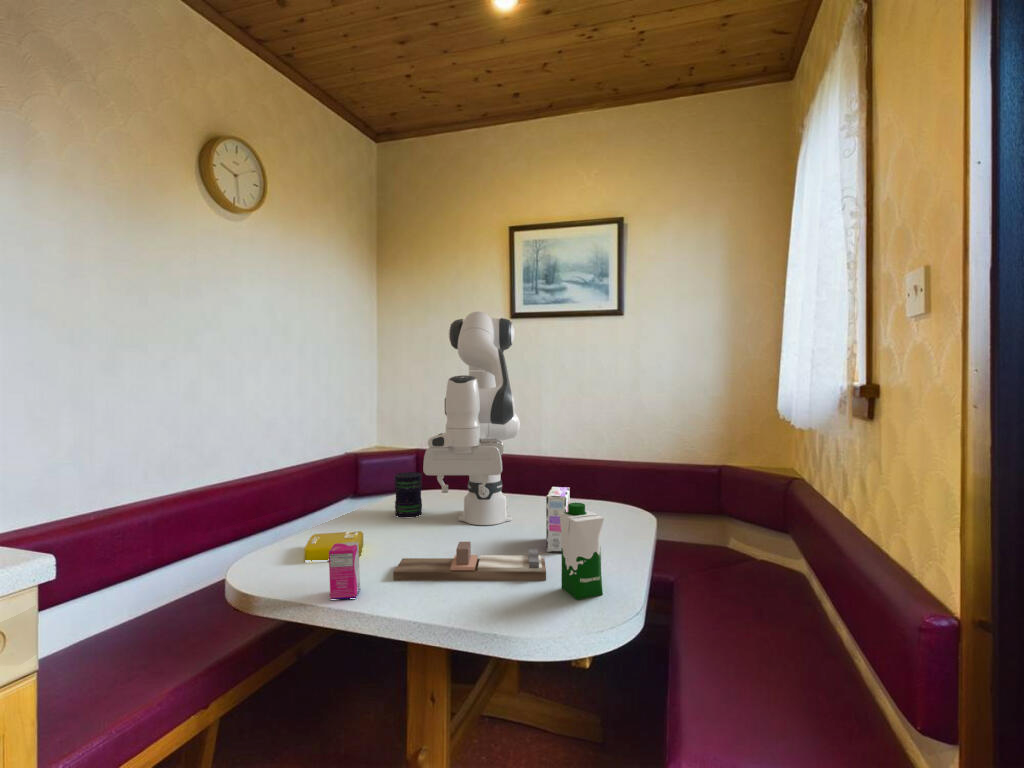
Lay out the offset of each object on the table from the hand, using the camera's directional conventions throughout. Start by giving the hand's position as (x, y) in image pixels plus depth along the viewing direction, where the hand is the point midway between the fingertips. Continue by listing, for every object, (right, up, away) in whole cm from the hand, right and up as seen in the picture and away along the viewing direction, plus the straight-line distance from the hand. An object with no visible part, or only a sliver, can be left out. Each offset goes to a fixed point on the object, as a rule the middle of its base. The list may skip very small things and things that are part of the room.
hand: (463, 492), depth 134 cm
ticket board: (+2, -21, 0) cm, 21 cm away
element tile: (-39, -22, +17) cm, 47 cm away
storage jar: (-26, -21, +59) cm, 67 cm away
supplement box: (-26, -21, -13) cm, 36 cm away
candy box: (+26, -21, +22) cm, 40 cm away
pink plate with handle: (0, -18, 0) cm, 18 cm away
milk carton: (+29, -21, -12) cm, 38 cm away
